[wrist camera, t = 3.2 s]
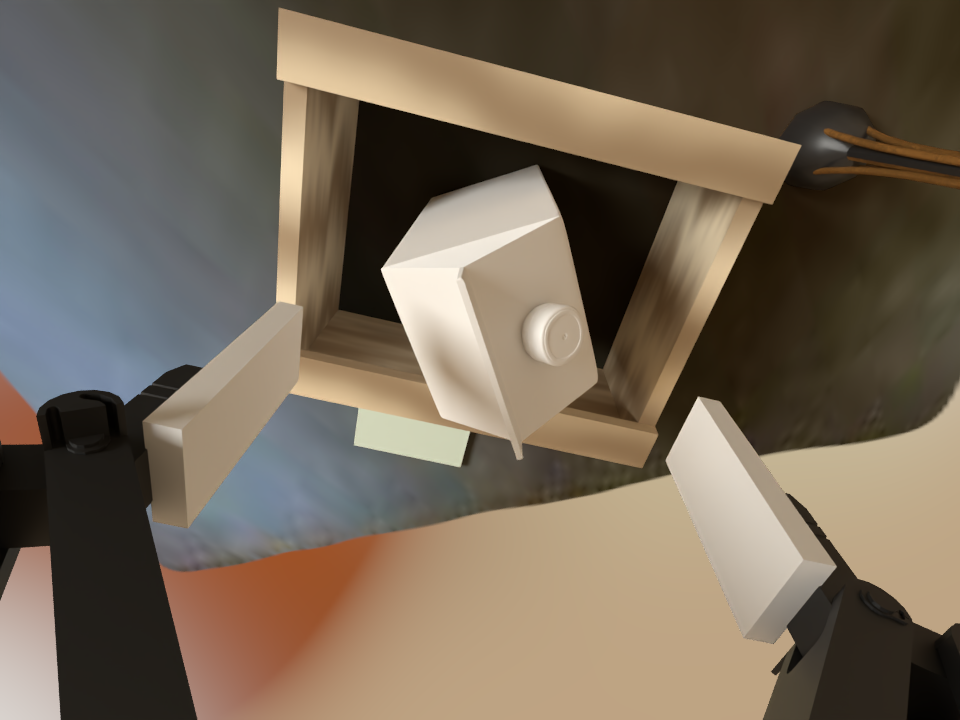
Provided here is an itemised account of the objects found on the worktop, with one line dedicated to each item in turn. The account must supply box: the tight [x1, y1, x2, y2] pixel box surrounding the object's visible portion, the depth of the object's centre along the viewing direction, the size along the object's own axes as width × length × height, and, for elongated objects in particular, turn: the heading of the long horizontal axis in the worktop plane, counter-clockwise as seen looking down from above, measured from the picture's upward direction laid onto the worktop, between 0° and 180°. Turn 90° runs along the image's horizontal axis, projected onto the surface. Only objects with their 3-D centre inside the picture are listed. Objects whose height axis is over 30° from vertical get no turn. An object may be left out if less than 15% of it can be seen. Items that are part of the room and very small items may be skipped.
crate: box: [276, 8, 802, 468], centre depth 29 cm, size 18×22×10 cm
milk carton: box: [381, 165, 598, 460], centre depth 25 cm, size 7×7×19 cm
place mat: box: [354, 408, 470, 467], centre depth 40 cm, size 9×9×1 cm
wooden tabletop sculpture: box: [778, 101, 960, 190], centre depth 21 cm, size 6×5×20 cm
